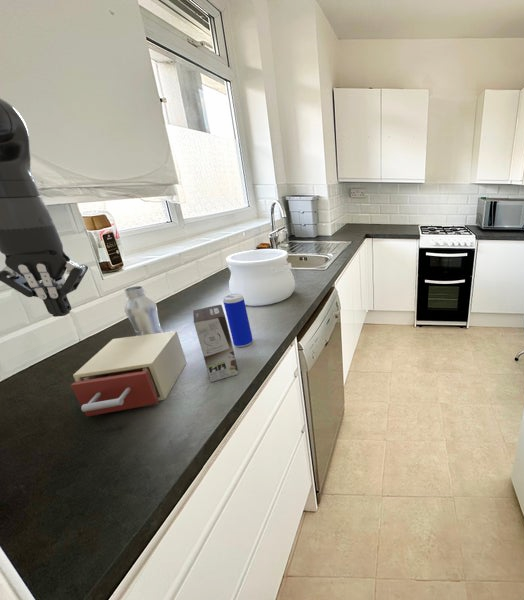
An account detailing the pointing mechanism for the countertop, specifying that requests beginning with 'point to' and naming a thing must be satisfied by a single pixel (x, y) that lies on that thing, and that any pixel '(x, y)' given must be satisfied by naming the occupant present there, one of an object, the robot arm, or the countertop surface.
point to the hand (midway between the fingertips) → (61, 314)
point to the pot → (261, 276)
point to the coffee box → (215, 342)
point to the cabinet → (140, 359)
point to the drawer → (115, 392)
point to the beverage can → (238, 320)
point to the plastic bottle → (142, 312)
